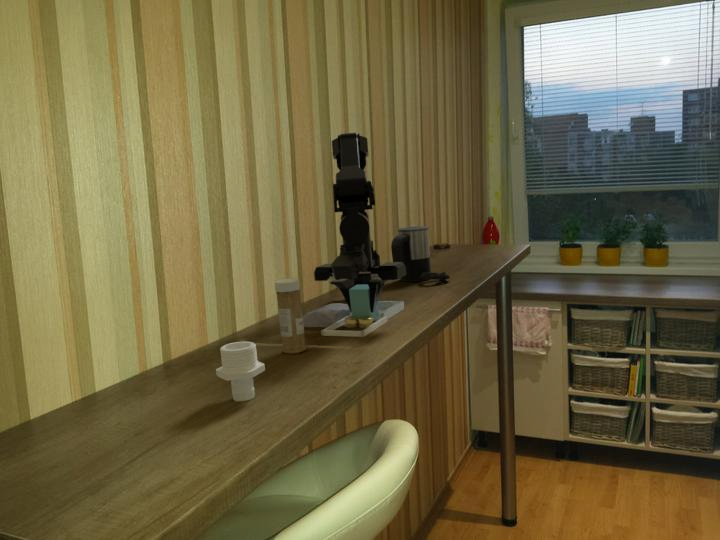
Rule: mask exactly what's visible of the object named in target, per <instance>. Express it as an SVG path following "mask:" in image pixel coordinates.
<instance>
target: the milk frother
mask: <svg viewBox="0 0 720 540" xmlns="http://www.w3.org/2000/svg"><path fill="white" fill-rule="evenodd" d="M429 228H430V227H429V226H426V225H425V226H409V227H402V228H397V229H396V230H397V231H398V233H397V234H398V235H395V236H394V237H393V239H392V241H391V245H390V249H391V258H392V262H403V264H404V265H405V267H406V275H405V276H403V277H401V278H399V279H400V281H402V282H413V281H415V282H422V281H429V280H438V281H439V282H440V281H445V282H446V280H448V279H450V278H451V276H450V275H449V274H447V273H446V272H444V271H443V272H432V270H431V257H430V256H431V255H430V241H429V238H430V237H429Z"/></svg>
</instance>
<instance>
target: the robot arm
mask: <svg viewBox="0 0 720 540" xmlns="http://www.w3.org/2000/svg"><path fill="white" fill-rule="evenodd" d="M331 149H332V158H333V160H336V166H337V169H338V170H339V171H338V172H336V174H335V183H332V192H333V195H332V196H333V197H332V198H333V209H334V210H333V211H334V213H341V216H340V223H339V233H340V235H341V238H342V244H340V245H339V255H338V256H337V257H335V259H334V261H333V262H332V263H324V264H322V265H321V264H320V265H318V266H315V269H314V271H313V279H314V281H315V282H325V281H327V282H328V281H329V279H330V278H331V281H330V282H329V283H330V284H331V285H335V287H337V289H338V290H340V292H341V294H342V296H343V298H344V300H345V302H346V304H348V307H349V309H350V311H351V303H350V294H349V289H351V288H352V287H354V286H356V285H368V286H369V289H370V308H371V313H373V312H375V309H376V306H377V303H378V301H379V300H380V296H381V293H382V291H383V288H384V285H385V283H386V282H387V281H389V280H390V281H396V280H399V279H400V278H401V277H403V276H405V275H406V267H405V265H404V264H403V262H393V261H392V262H390V261H387V262H385V263H382V264H381V259H380V255H379V253H378V252H377V250H376V249H374V240H371V232H370V220H369V219H370V218H369V214H368V212H367V211H368V210H373V206H376V200H375V189H374V188H375V187H374V185H373V184H372V181H371V180H367V171H366V170H365V168H366V166H367V157H369V145H368V138H367V137H366V136H363V135H360V133H357V132H348V133H347V132H346V133H340V134H338V135H337V137H336V138H334V139H333V140H331ZM366 210H367V211H366ZM351 312H352V311H351Z"/></svg>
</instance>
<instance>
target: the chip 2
mask: <svg viewBox="0 0 720 540" xmlns="http://www.w3.org/2000/svg"><path fill="white" fill-rule="evenodd" d="M358 321H359V326H358V328H360V329H366V328H367V327H369V326H370V325H372V324H374V321H373V317H361V318H358Z"/></svg>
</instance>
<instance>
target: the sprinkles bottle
mask: <svg viewBox="0 0 720 540" xmlns="http://www.w3.org/2000/svg"><path fill="white" fill-rule="evenodd" d="M274 290H275V293H276V300H277V311H278V314H277V315H278V321H279V331H280V336H281V343H282V352H283V353H284V354H289V355H291V354H292V355H293V354H300V353H302V352H305V351H306V349H307V345H306V341H305V339H306V338H305V327H304V325H303V317H302V315H303V308H302V303H301V301H302V300H301V292H300V291H301V282H300V279H298V278H294V277H293V278H282V279H278V280H275V281H274Z"/></svg>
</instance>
